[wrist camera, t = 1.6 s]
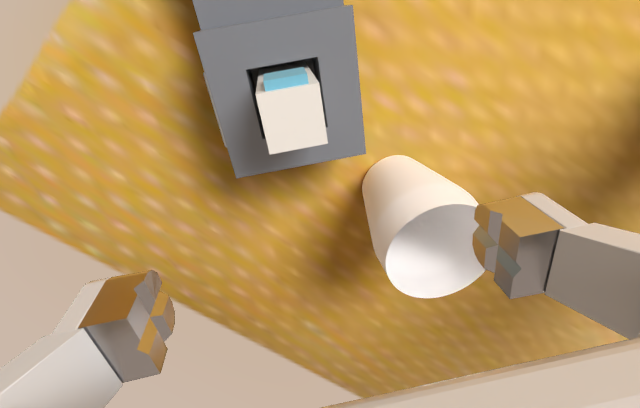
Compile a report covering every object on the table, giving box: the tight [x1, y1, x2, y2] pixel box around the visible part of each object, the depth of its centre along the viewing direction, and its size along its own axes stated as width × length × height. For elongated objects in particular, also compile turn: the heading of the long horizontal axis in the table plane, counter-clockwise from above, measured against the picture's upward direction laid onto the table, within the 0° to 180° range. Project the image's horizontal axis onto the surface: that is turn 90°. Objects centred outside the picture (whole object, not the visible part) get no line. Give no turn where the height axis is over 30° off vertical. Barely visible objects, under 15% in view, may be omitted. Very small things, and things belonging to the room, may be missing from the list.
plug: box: [255, 61, 328, 154], centre depth 24 cm, size 4×4×9 cm
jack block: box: [192, 0, 366, 178], centre depth 25 cm, size 10×20×7 cm, turn 9°
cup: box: [362, 155, 486, 298], centre depth 31 cm, size 9×9×12 cm
